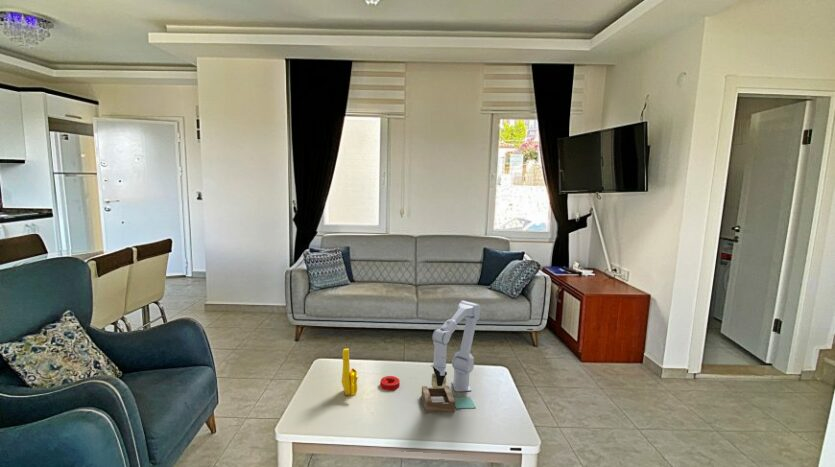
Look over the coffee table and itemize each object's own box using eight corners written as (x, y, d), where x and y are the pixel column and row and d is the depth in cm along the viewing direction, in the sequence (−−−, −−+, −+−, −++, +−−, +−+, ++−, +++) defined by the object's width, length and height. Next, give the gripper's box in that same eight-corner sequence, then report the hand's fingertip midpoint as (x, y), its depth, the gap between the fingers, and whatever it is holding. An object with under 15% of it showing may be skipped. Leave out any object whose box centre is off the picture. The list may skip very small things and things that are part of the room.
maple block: (431, 383, 196) (431, 373, 196) (444, 383, 197) (444, 373, 197) (432, 388, 192) (433, 377, 192) (445, 387, 193) (446, 377, 193)
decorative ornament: (403, 386, 212) (403, 380, 211) (390, 392, 204) (390, 386, 204) (389, 379, 218) (390, 373, 218) (376, 385, 211) (376, 380, 210)
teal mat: (452, 398, 201) (452, 397, 201) (470, 398, 202) (470, 397, 202) (456, 408, 192) (456, 408, 192) (475, 408, 193) (475, 407, 193)
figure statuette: (357, 402, 194) (358, 356, 192) (340, 402, 193) (341, 357, 190) (358, 383, 212) (359, 341, 209) (342, 383, 211) (343, 342, 208)
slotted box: (421, 396, 202) (422, 386, 202) (447, 395, 204) (448, 385, 204) (426, 413, 188) (426, 402, 187) (454, 412, 189) (455, 401, 189)
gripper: (429, 349, 200) (427, 376, 201) (434, 362, 185) (432, 391, 187) (443, 348, 201) (442, 375, 202) (449, 362, 186) (448, 390, 188)
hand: (438, 383), depth 195 cm, fingers closed on maple block, 4 cm apart
